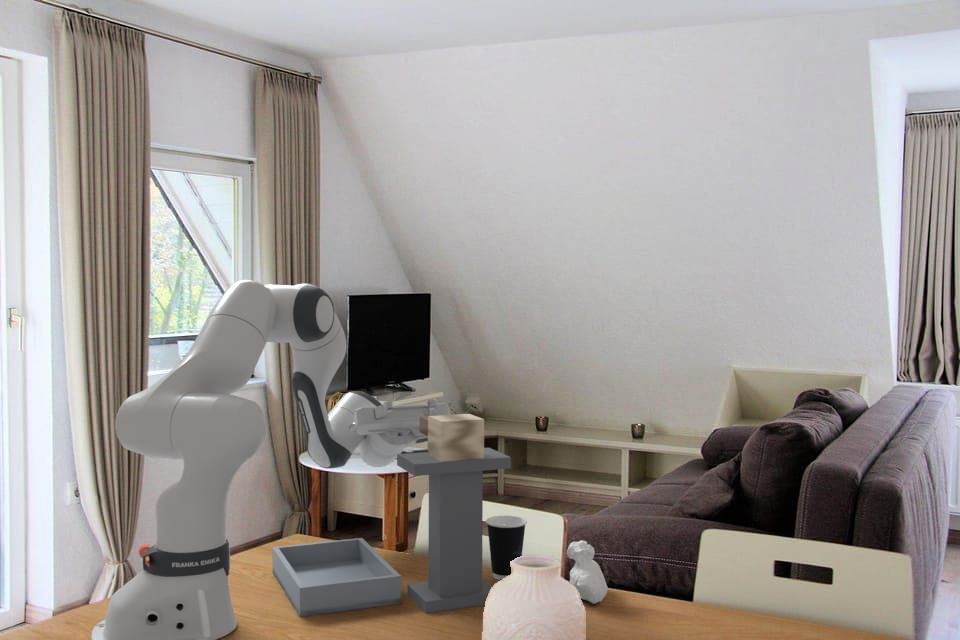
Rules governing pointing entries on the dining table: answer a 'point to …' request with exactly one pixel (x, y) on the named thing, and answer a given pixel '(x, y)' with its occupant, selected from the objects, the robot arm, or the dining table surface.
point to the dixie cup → (505, 542)
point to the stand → (453, 529)
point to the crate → (335, 576)
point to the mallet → (454, 436)
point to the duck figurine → (586, 572)
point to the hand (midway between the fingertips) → (411, 403)
